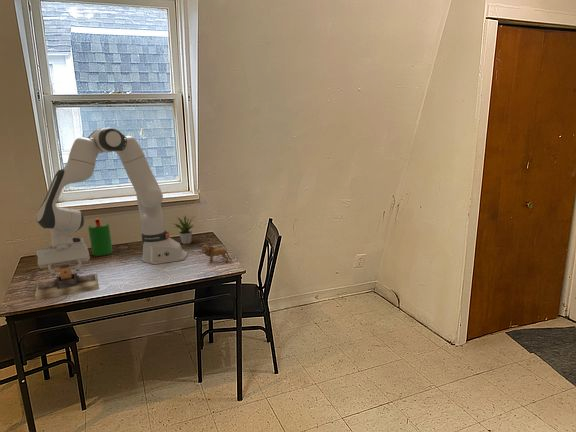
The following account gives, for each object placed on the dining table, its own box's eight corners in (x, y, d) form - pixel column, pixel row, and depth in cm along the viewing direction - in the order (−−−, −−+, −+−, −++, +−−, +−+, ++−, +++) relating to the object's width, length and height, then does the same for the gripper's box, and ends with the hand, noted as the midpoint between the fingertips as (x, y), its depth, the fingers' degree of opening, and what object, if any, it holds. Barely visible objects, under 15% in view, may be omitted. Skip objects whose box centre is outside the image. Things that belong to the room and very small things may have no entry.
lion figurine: (202, 264, 210) (200, 246, 208) (203, 260, 215) (201, 243, 213) (231, 262, 211) (230, 245, 209) (232, 258, 216) (231, 241, 214)
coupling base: (97, 277, 197) (96, 267, 196) (98, 288, 184) (97, 277, 183) (38, 288, 187) (36, 277, 186) (35, 300, 175) (33, 289, 173)
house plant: (193, 236, 256) (190, 210, 252) (204, 241, 246) (202, 214, 242) (171, 242, 247) (168, 214, 243) (182, 247, 237) (179, 218, 233)
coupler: (73, 281, 188) (70, 264, 186) (72, 284, 184) (69, 267, 182) (62, 283, 186) (59, 265, 184) (62, 286, 182) (59, 268, 180)
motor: (111, 249, 237) (106, 214, 232) (114, 253, 230) (109, 217, 225) (91, 252, 232) (86, 217, 227) (93, 257, 225) (88, 220, 220)
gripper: (34, 245, 183) (36, 274, 176) (86, 237, 191) (90, 265, 185) (37, 252, 188) (39, 280, 181) (88, 244, 196) (91, 271, 190)
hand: (65, 272), depth 183 cm, fingers open, 8 cm apart
